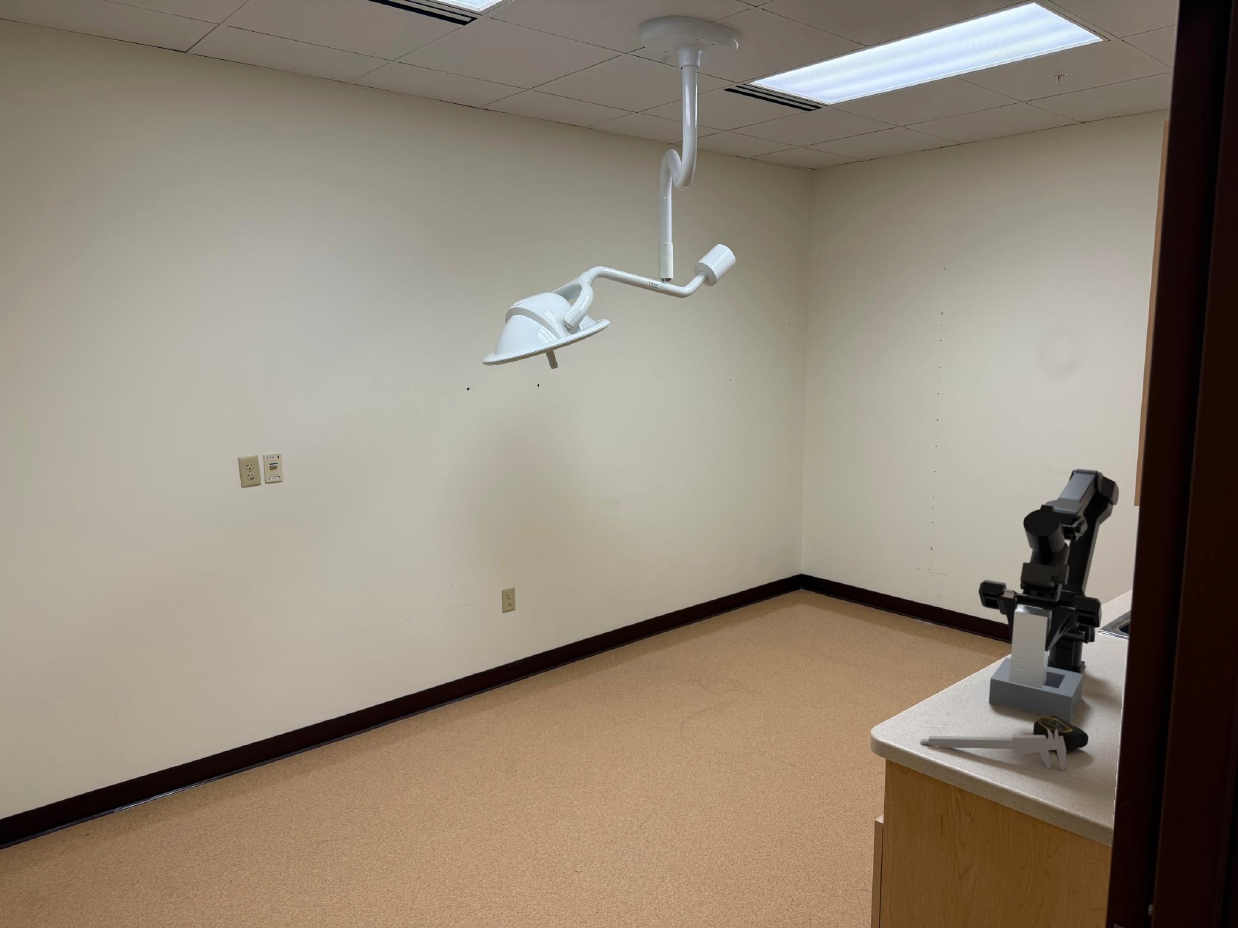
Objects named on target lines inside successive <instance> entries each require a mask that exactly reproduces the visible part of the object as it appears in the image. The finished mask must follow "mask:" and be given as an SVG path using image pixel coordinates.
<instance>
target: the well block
mask: <svg viewBox="0 0 1238 928" xmlns="http://www.w3.org/2000/svg"><path fill="white" fill-rule="evenodd" d="M1010 664H1011V657H1010V658H1009V657H1005V658H1004V660H1003V661H1002V662H1001V664H1000V665H999V666H998V667H997V669H996V670H995V672H994V673H993V674H992V676H991V677H990V683H989V691H988V693H989V696H988V703H991V704H994V705H995V704H996V705H999V706H1003V707H1008V708H1011V709H1014V710H1015V709H1016V710H1019V711H1024V712H1028V713H1032V714H1036V715H1039V716H1042V717H1050V716H1054V715H1055V716H1057V717H1059V718H1061V719H1063V720H1065V721H1067V722H1069V723H1070V722H1071V721H1072V718H1073V716H1074V714H1075V712H1076V709H1077V707H1078V705H1079V703H1080V701H1081V698H1082V691H1083V690H1082V689H1083V680H1084V679H1083V678H1084V674H1083V673H1076V672H1071V671H1066V670H1062V669H1057V668H1052V667H1048V666H1047V674H1046V682H1045V683H1044V685H1043V687H1042V689H1040V688H1036V687H1031V686H1027V685H1023V684H1018V683H1014V682H1009V677H1010Z"/></svg>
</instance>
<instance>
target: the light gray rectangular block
mask: <svg viewBox="0 0 1238 928" xmlns="http://www.w3.org/2000/svg"><path fill="white" fill-rule="evenodd" d="M1051 616H1052V611H1051V610H1046V609H1042V608H1037V607H1031V606H1026V605H1020V604H1018V606H1017V609H1016V610H1015V612H1014V625H1013V638H1012V644H1011V650H1010V651H1011V653H1010V659H1011V664H1010V677H1009V682H1014V683H1018V684H1023V685H1027V686H1031V687H1036V688H1040V689H1042V687H1043V685H1044V683H1045V682H1046V674H1047V663H1048V656H1049V651H1048V652H1047V651H1045V646H1046V641H1047V637H1048V634H1049V632H1050V628H1051Z"/></svg>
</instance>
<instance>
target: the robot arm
mask: <svg viewBox="0 0 1238 928" xmlns="http://www.w3.org/2000/svg"><path fill="white" fill-rule="evenodd" d="M1119 497H1120V489H1119V486H1118V485H1117V482H1116V481H1114V480H1112V479H1110V478H1109V477H1106V476H1104V474H1103V473H1102V472H1101V471H1098V470H1096V469H1095V470H1094V469H1093V470H1091V469H1082V468H1077V469H1073V470H1072V471H1071V473H1070V476H1069V478H1068V483H1067V484H1066V486H1064V489H1063V490H1062V491H1061V493H1060V495H1059V497H1058V498H1057V499H1053V500H1049V501H1047V502H1045V503H1044V504H1041V505H1040V508H1039V509H1035V510H1032V511H1030V512H1029V513H1028V514H1027V515H1026V516H1025V517H1024V518H1023V522H1022V524H1023V529H1024V532H1025V536H1026V540H1027V543H1028V546H1029V548H1030V549H1031V550H1032V551H1031V554H1030V559H1029V562H1022V567H1021V574H1020V579H1019V581H1020V584H1019V588H1020V589H1021V590H1022V592H1016V591H1015V590H1012V589H1010V588H1009V589H1008V587H1007V583H1006V582H1000V581H996V580H994V581H993V580H988V579H984V580H983V581H982V582H980V584H979V589H978V595H979V599H980V603H981V606H982V607H984V608H987V609H992V610H996V611H999V613H1000V614H1001V615H1003V616H1006V620H1007V625H1008V633H1009V642H1010V645H1012V638H1013V625H1014V612H1015V610H1016V609H1017V608H1018V606H1019V605H1023V606H1029V607H1034V608H1040V609H1046V610H1051V611H1052V616H1051V628H1050V632H1049V634H1048V637H1047V641H1046V646H1045V651H1047V652H1048V663H1047V666H1048V667H1052V668H1057V669H1062V670H1066V671H1071V672H1076V673H1080V674H1082V671H1083V669H1084V667H1085V666H1086V665H1085V664H1086V661H1084V660H1082V655H1083V648H1084V647H1083V645H1084V644H1086V645H1088V644H1089V643H1095V642H1096V641H1095V640H1096V629H1097V628H1100V627H1101V623H1102V617H1103V615H1102V614H1103V613H1102V611H1103V610H1102V602H1101V600H1100V599H1099V598H1097V597H1092V596H1091V597H1090V596H1086V589H1087V584H1088V579H1089V576H1090V572H1091V567H1092V561H1093V558H1094V553H1095V548H1096V544H1097V543H1096V542H1097V539H1098V535H1099V529H1100V526H1101V525H1102V524H1103V523H1104V522H1105V521H1106V520H1107V519H1108V518H1110V517H1111V516H1112V513H1113V509H1114V506H1117V504H1118V501H1119ZM1066 541H1068V542H1069V544H1068V543H1067V542H1066ZM1083 643H1084V644H1083Z"/></svg>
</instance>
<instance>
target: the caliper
mask: <svg viewBox="0 0 1238 928" xmlns="http://www.w3.org/2000/svg"><path fill="white" fill-rule="evenodd" d="M1047 730H1048V736H1049V737H1048V738H1046V736H1045V735H1033V734H1013V735H1012V737H1005V736H1004V737H1003V736H1002V737H1000V736H999V737H998V736H958V735H957V736H953V735H950V736H949V735H948V736H946V735H929V736H928V738H922V739H920V742H919V744H920V743H922V744H921V745H928V746H929V745H931V746H930V747H934V746H937V747H936V748H940V747H941V748H944V749H945V748H946V749H947V748H949V749H954V748H955V749H992V750H995V749H996V750H998V749H999V750H1014V754H1015V755H1021V754H1024V755H1030V754H1033V753H1039V755H1040V757H1041V758H1042V761H1043V762H1044V764H1045V767H1046V768H1047V769H1052V762H1051V755H1050V751H1056V750H1057V751H1056V753H1057V758H1058V762H1059V767H1060V770H1061V771H1063V770H1065V769H1066V764H1067V763H1066V762H1067V761H1066V760H1067V752H1066V747H1065V743H1064V739H1063V736H1058V731H1057V729H1056V730H1055V733H1054V738H1053V734H1052V733H1051V731H1050V730H1049V729H1047Z"/></svg>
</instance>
